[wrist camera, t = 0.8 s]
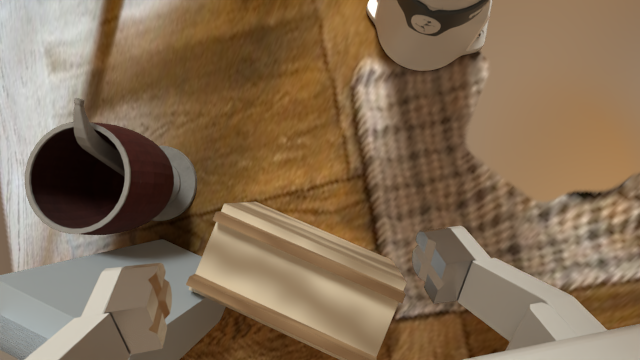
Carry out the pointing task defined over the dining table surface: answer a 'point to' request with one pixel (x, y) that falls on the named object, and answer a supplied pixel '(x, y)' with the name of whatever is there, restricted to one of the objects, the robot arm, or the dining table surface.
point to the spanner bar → (17, 340)
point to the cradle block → (299, 280)
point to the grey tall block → (80, 279)
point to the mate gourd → (105, 178)
